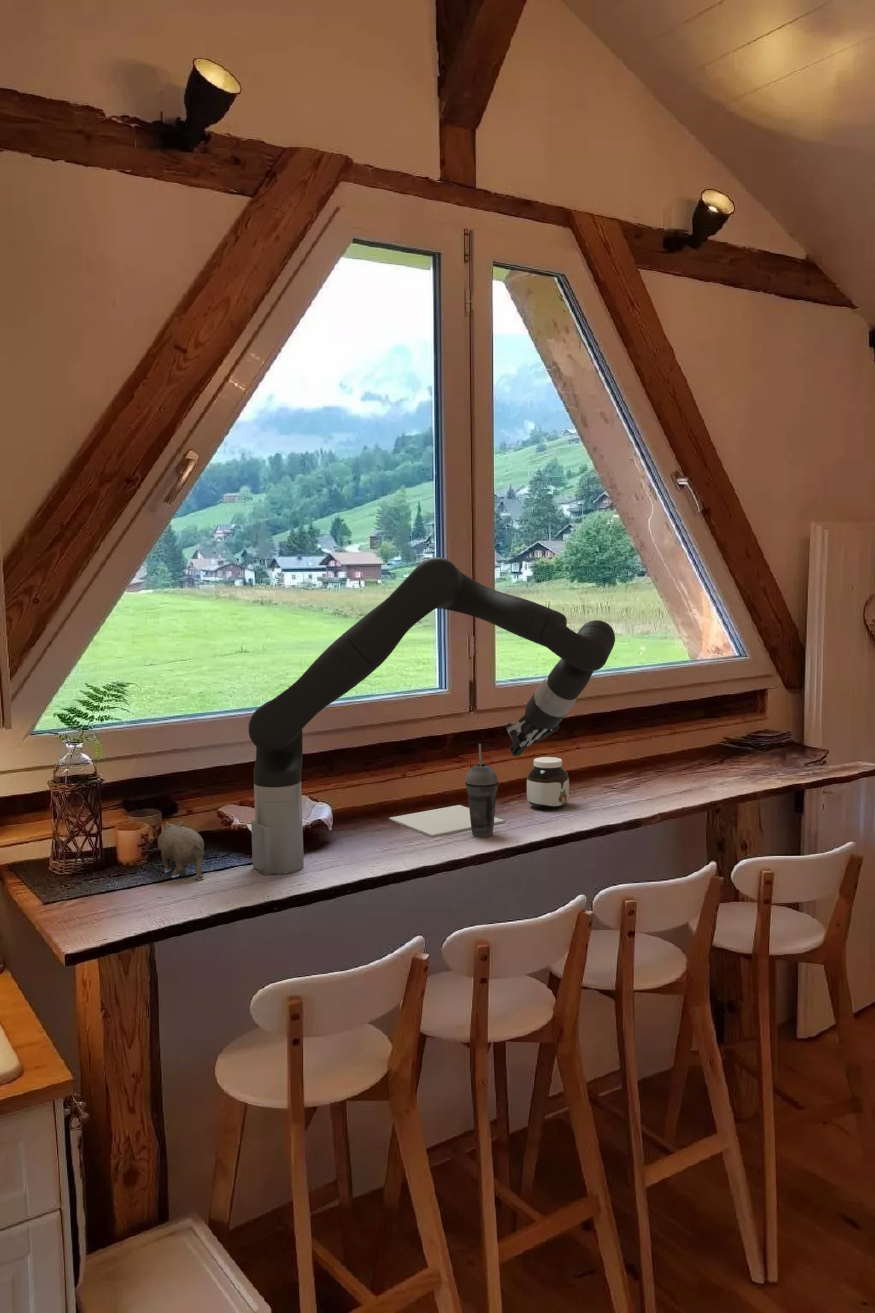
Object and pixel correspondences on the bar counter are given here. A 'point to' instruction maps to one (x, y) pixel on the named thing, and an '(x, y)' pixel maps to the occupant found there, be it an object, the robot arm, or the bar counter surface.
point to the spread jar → (547, 784)
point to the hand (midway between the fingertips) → (514, 752)
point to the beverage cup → (482, 798)
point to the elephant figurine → (181, 848)
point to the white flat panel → (439, 820)
